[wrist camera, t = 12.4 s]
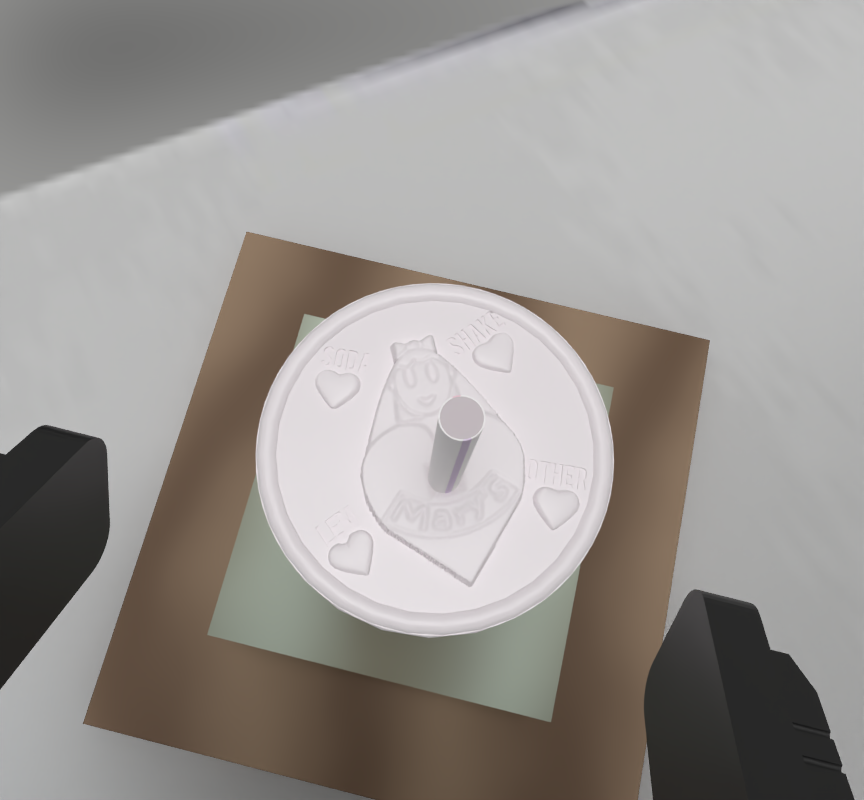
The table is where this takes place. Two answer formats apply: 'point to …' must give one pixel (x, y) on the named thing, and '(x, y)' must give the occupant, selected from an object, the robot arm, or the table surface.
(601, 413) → the smoothie
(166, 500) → the plinth
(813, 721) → the robot arm
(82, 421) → the table surface
